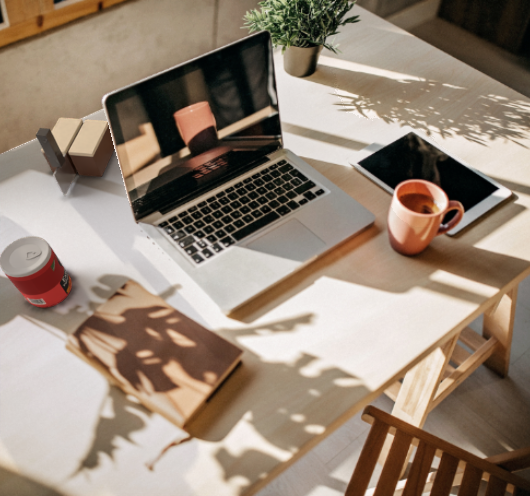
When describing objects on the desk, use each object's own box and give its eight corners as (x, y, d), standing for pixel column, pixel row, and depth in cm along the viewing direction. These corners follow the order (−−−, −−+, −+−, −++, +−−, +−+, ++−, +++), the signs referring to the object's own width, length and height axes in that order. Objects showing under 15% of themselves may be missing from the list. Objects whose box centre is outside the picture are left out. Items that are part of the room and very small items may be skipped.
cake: (70, 141, 110) (59, 117, 105) (117, 145, 109) (108, 120, 104) (53, 173, 104) (40, 149, 99) (102, 177, 103) (91, 153, 98)
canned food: (80, 294, 87) (56, 258, 78) (35, 317, 84) (6, 283, 75) (64, 264, 91) (40, 227, 82) (21, 286, 88) (-8, 250, 79)
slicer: (70, 174, 103) (44, 120, 92) (79, 175, 103) (54, 121, 91) (59, 196, 100) (30, 142, 88) (69, 196, 99) (41, 143, 88)
